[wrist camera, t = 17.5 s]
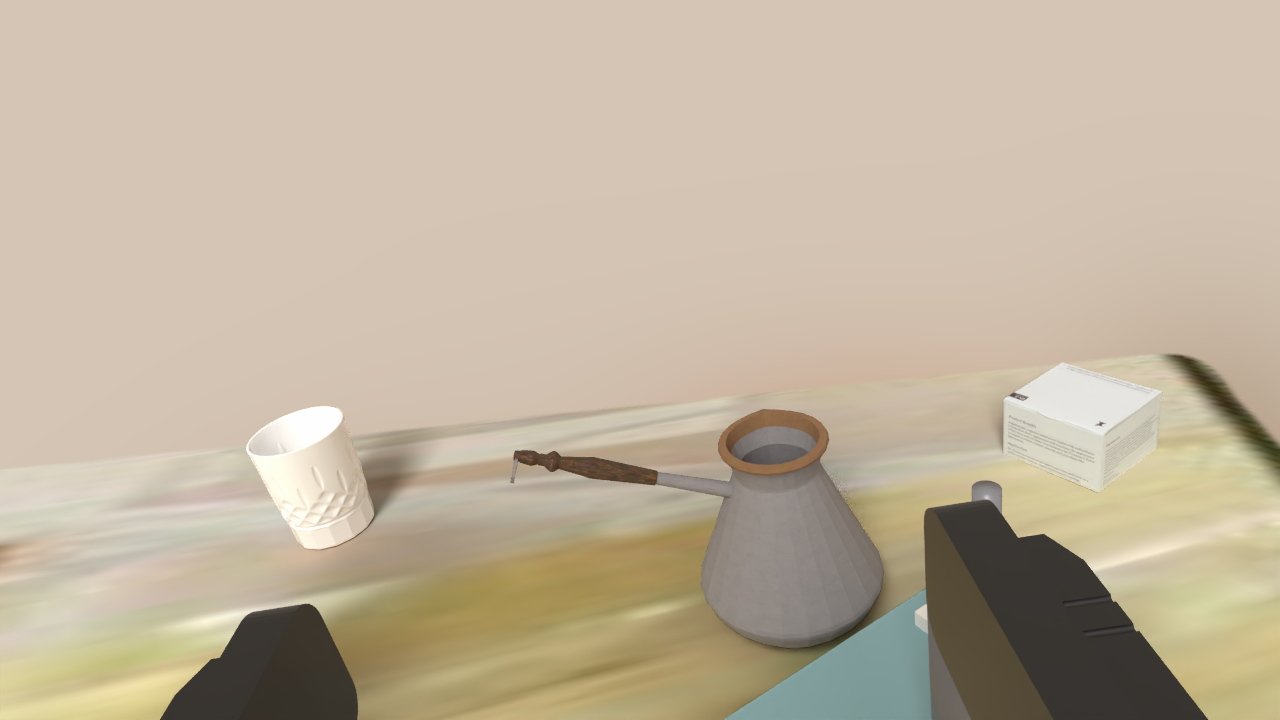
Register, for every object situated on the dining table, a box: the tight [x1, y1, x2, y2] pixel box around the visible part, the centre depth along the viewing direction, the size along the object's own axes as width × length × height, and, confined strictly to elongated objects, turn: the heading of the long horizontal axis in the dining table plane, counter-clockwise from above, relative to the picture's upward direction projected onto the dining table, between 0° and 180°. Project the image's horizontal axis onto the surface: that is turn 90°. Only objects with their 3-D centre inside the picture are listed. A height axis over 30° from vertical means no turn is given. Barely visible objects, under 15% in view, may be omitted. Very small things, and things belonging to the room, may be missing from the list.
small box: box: [1003, 363, 1162, 493], centre depth 59 cm, size 8×8×5 cm
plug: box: [927, 481, 1002, 720], centre depth 33 cm, size 4×4×19 cm
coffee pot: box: [511, 409, 884, 648], centre depth 49 cm, size 21×12×15 cm, turn 91°
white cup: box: [246, 406, 374, 550], centre depth 68 cm, size 8×8×10 cm
